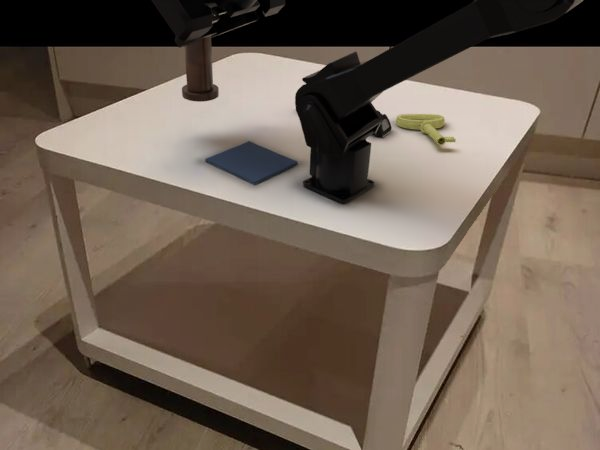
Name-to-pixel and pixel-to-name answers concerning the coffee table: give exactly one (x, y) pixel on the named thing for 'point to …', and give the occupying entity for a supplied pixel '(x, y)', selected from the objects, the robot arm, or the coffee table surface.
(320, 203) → the coffee table surface
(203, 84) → the shaving brush
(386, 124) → the electric trimmer
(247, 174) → the napkin
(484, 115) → the coffee table surface
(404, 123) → the key
